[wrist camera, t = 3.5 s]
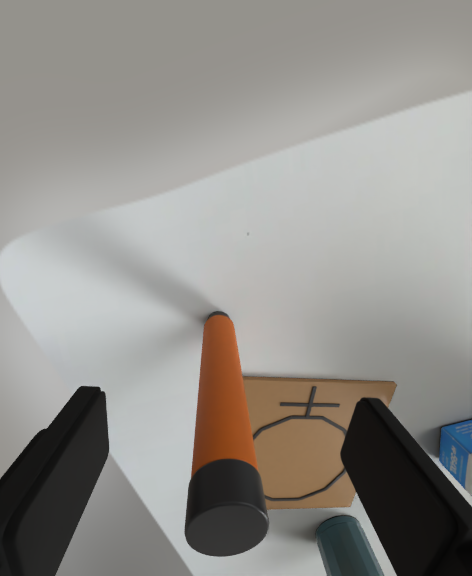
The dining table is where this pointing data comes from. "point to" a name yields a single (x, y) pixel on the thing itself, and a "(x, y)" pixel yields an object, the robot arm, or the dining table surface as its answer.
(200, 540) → the marker
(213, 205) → the dining table surface
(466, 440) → the ink box
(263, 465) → the sketch pad
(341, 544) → the pen cup
